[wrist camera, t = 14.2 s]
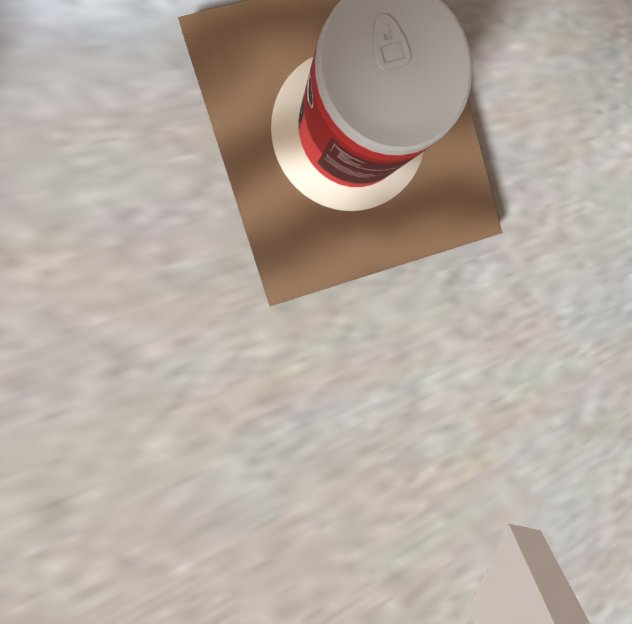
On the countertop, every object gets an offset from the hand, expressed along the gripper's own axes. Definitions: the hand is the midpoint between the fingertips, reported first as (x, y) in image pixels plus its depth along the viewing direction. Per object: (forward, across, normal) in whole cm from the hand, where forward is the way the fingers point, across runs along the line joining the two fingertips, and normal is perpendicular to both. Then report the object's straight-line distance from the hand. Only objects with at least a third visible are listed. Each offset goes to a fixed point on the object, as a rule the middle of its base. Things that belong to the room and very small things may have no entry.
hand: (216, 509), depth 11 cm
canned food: (+28, +2, +9) cm, 29 cm away
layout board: (+29, +2, +8) cm, 31 cm away
